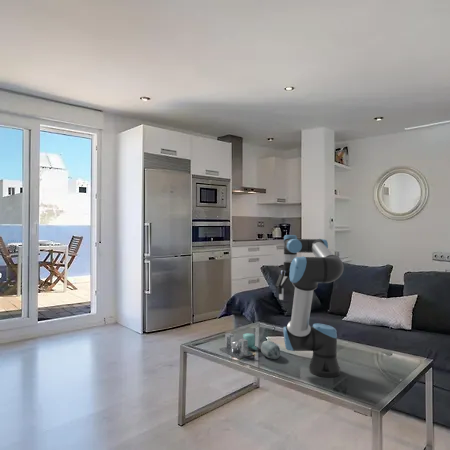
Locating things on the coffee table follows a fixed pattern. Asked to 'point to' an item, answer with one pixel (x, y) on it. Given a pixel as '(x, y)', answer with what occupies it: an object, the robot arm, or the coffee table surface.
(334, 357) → the robot arm
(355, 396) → the coffee table surface
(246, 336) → the cap
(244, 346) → the grey metal fixture
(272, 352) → the grey green ovoid
